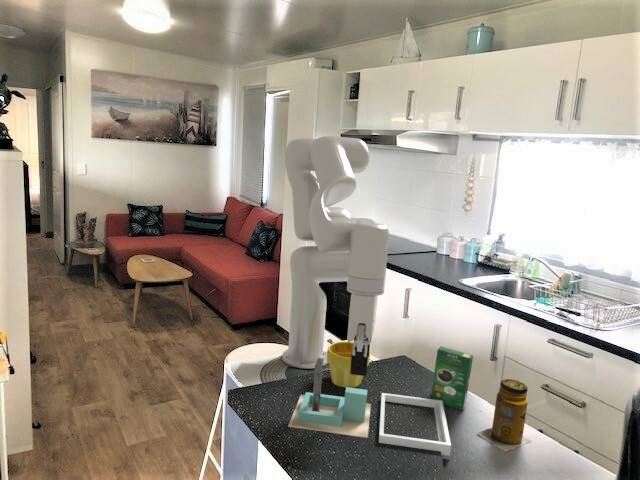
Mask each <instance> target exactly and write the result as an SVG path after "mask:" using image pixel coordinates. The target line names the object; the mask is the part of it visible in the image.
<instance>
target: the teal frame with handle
mask: <svg viewBox="0 0 640 480" xmlns="http://www.w3.org/2000/svg"><path fill="white" fill-rule="evenodd" d="M304 395H305V396H304V399H303V401H302V404H301V406H300V409H299V412H298V421H301V422H308V423H315V424H322V425H329V426H336V427H341V426H342V421H343V419H346V420H354V421H361V422H364V421H365V411H366V403H367V397H368V389H363V388H357V387H352V388H349V387H345V391H344V396H338V395H331V394H330V395H329V394H323V393H321V396H320V405H322V406H330V407H337V408H338V411H337V414H331V413H323V412H316V411H309V410H308V408H309V405H310V404H312V402H313V392H307V391H305V393H304Z"/></svg>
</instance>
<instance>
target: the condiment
mask: <svg viewBox="0 0 640 480" xmlns="http://www.w3.org/2000/svg"><path fill="white" fill-rule="evenodd" d="M499 383H500V387H499V389H498V392H497V394H496V399H495V404H494V405H495V406H494V412H493V420H492V427H490V428H486V429H484V430H482V431H478V432H476V434H477V435H478V436H479V437H481V438H482V439H484V440H485V441H487V442H489V443H490V444H492V445H493V446H495V447H496V448H498V449H499V450H502V451H504V452H508V451H511V450H513V449H515V448H517V447H521V446H523V445H526V444H527V443H530V442H531V441H532V440H530V439H529V438H527V437H525V436H524V429H525V422H526V415H527V409H528V403H529V402H528V398H527V397H528V389H529V388H528V386H527V385H526V384H525V383H523V382H522V381H519V380H516V379H510V378H507V379H502V380H501V382H499Z"/></svg>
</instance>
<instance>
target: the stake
mask: <svg viewBox="0 0 640 480" xmlns="http://www.w3.org/2000/svg"><path fill="white" fill-rule="evenodd" d="M323 360H324V359H323V358H318V359H317V362H316V365H315V367H314V368H313V369H314V371H313V373H314V375H313V376H314V377H313V391H312V393H313V402H312V411H316V412H319V410H320V396H321V394H322V380H323V367H324V366H323Z"/></svg>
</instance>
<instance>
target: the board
mask: <svg viewBox="0 0 640 480" xmlns="http://www.w3.org/2000/svg"><path fill="white" fill-rule="evenodd" d="M304 396H305V394H300V395H299V398H298V401H297V404H296V405H295V408H294V410H293V413H292V416H291V418H290V421H289V423H288V426H287V427H289V428H295V429H302V430H303V429H304V430H309V431H316V432H324V433H331V434H336V435H344V436H352V437H357V438H358V437H360V438H366V439H368V438H369V429H370V416H371V407H372V404H371V403H367V402H366V411H365V421H364V422H361V421H354V420H346V419H343V421H342V426H341V427H336V426H329V425H322V424H315V423H308V422H301V421H298V412H299V409H300V406H301V404H302V401H303V399H304ZM308 410H309V411H312V404H310V405H309V408H308ZM337 411H338V408H337V407H330V406H322V405H320V410H319V412H323V413H331V414H337Z"/></svg>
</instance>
